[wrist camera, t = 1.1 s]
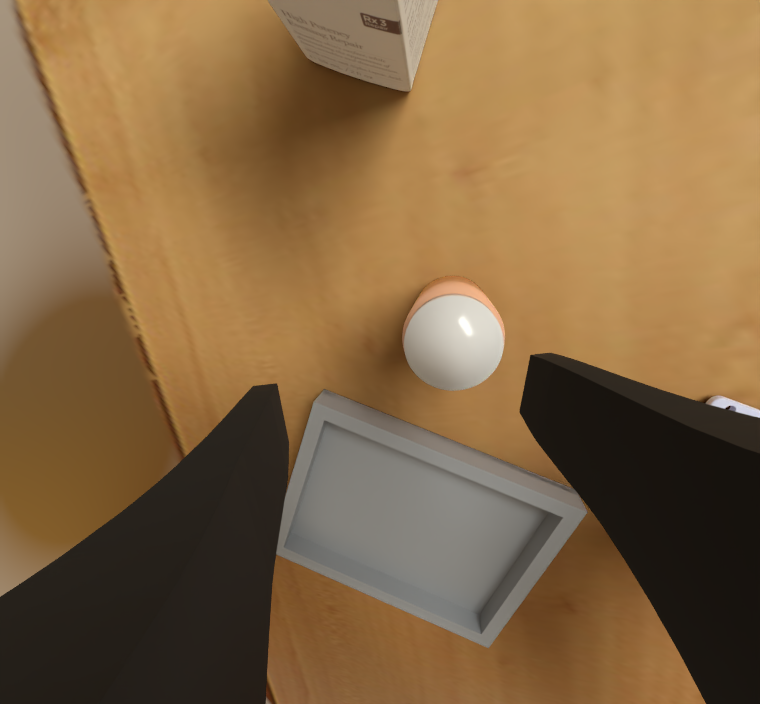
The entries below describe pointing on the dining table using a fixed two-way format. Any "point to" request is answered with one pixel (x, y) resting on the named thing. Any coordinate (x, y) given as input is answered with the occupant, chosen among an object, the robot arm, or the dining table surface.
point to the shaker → (453, 334)
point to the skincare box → (361, 36)
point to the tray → (421, 518)
